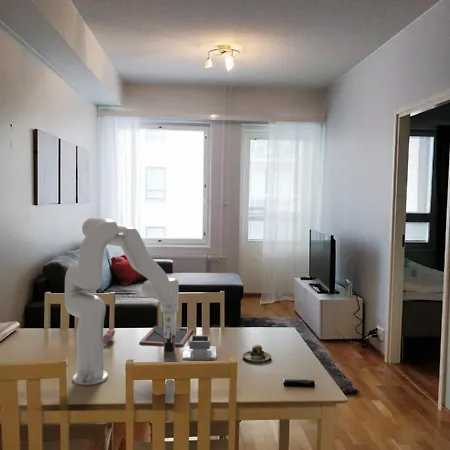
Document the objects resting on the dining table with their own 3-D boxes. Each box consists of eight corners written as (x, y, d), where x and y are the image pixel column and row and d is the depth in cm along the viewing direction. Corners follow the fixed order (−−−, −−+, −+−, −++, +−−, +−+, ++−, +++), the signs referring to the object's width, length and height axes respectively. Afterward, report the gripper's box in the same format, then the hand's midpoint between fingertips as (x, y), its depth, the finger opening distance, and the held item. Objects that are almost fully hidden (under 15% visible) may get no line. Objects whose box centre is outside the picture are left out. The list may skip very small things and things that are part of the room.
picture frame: (154, 329, 243) (139, 345, 218) (154, 325, 243) (139, 341, 218) (193, 331, 240) (182, 348, 216) (193, 327, 240) (182, 343, 215)
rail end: (174, 356, 203) (174, 337, 203) (163, 356, 203) (163, 337, 202) (175, 352, 208) (175, 334, 207) (164, 352, 207) (164, 334, 207)
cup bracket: (216, 359, 200) (216, 343, 199) (182, 359, 199) (182, 343, 199) (216, 348, 214) (216, 333, 213) (184, 348, 213) (184, 333, 213)
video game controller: (106, 349, 216) (113, 335, 215) (97, 344, 215) (104, 331, 215) (111, 342, 225) (118, 329, 225) (102, 337, 225) (109, 324, 225)
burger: (238, 361, 198) (238, 344, 198) (248, 353, 209) (248, 336, 209) (265, 366, 194) (266, 348, 193) (274, 357, 204) (275, 340, 204)
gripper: (177, 312, 195) (176, 356, 197) (179, 302, 212) (179, 343, 214) (158, 312, 195) (158, 356, 197) (162, 302, 212) (162, 343, 213)
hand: (169, 349), depth 205 cm, fingers closed on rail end, 4 cm apart
